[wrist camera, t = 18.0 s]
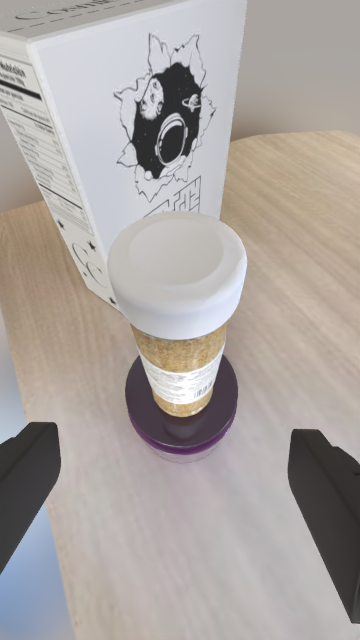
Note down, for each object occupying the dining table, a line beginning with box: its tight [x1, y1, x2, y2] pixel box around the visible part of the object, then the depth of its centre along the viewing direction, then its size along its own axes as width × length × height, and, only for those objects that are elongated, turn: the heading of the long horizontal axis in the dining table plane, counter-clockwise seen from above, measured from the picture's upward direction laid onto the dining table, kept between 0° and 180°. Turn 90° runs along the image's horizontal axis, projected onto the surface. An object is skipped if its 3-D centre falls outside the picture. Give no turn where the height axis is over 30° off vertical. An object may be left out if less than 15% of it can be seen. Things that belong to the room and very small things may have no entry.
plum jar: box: [125, 354, 238, 463], centre depth 24 cm, size 9×9×9 cm
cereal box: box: [0, 0, 247, 313], centre depth 29 cm, size 22×8×25 cm, turn 141°
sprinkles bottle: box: [107, 211, 247, 417], centre depth 14 cm, size 5×5×14 cm
